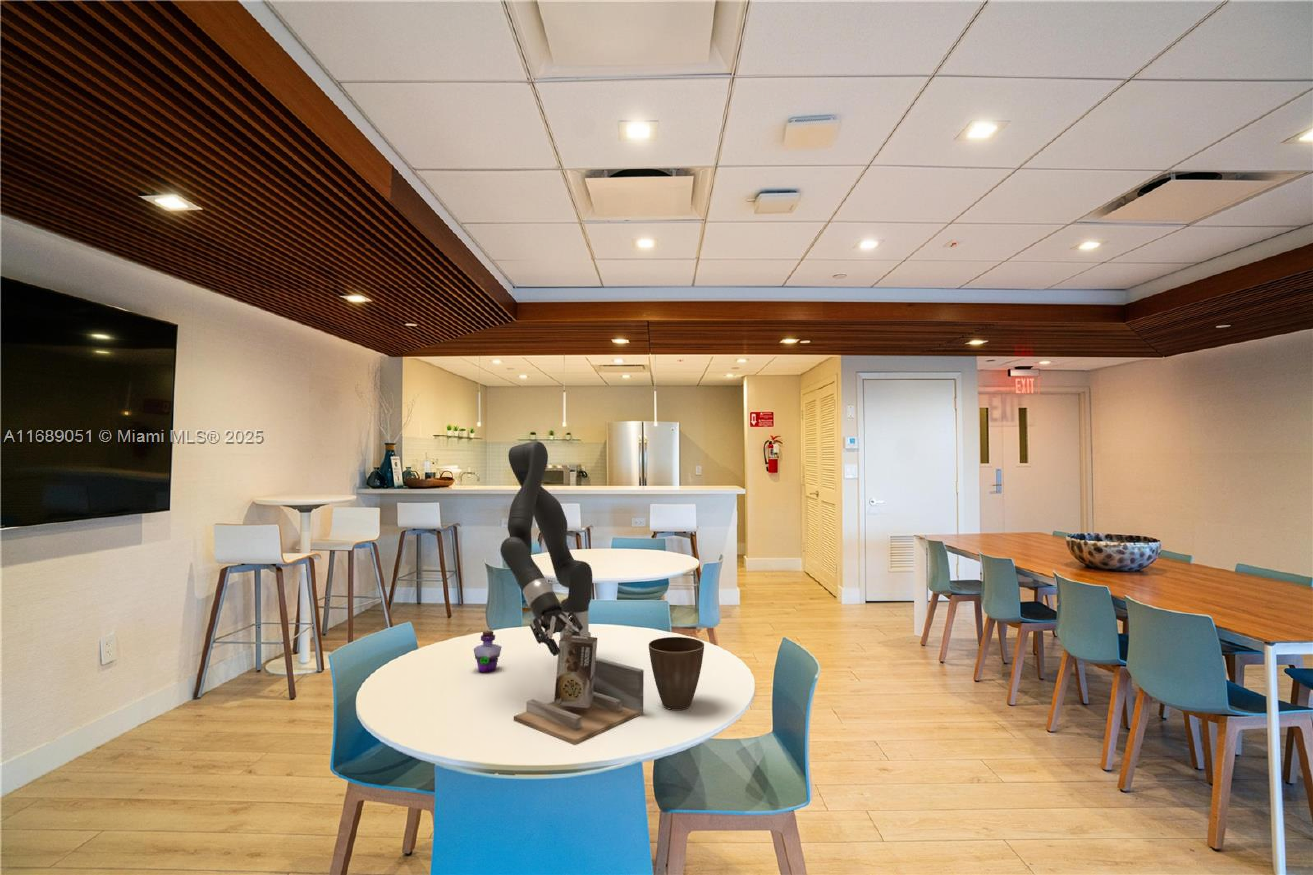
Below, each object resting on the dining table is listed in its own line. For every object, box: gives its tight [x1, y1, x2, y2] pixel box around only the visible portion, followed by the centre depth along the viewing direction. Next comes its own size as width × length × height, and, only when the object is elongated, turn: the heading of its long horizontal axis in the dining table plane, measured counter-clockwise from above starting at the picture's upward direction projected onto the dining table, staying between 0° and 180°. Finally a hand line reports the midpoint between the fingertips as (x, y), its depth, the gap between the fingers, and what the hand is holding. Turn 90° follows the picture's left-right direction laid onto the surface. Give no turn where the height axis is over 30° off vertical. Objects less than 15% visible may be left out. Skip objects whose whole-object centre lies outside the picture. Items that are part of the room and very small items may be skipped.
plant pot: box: [648, 636, 705, 710], centre depth 164 cm, size 15×15×16 cm
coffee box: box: [553, 635, 598, 708], centre depth 158 cm, size 9×6×16 cm
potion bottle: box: [473, 630, 502, 674], centre depth 193 cm, size 9×9×12 cm
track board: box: [513, 656, 644, 745], centre depth 155 cm, size 24×22×11 cm
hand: (569, 650), depth 158 cm, fingers closed on coffee box, 8 cm apart
